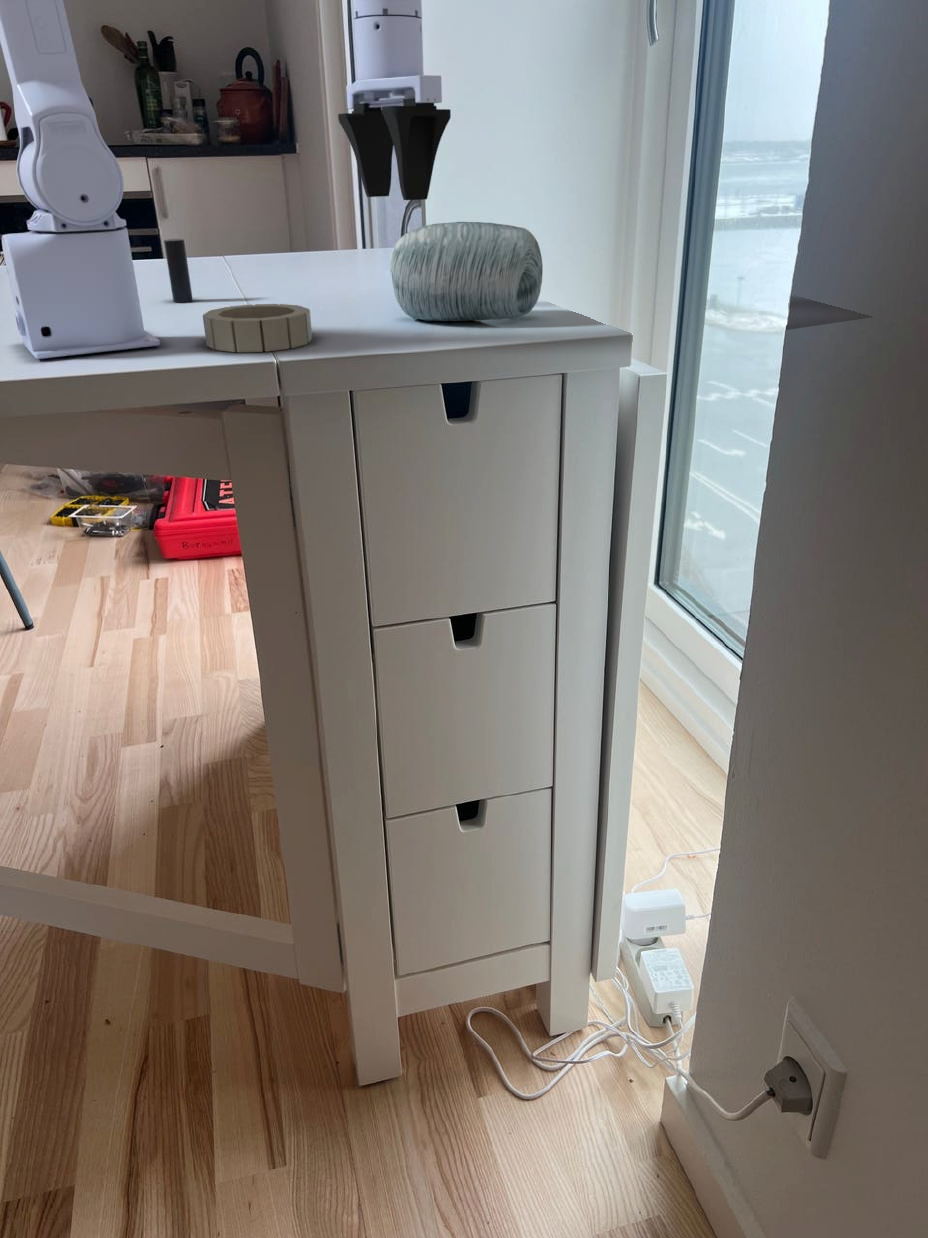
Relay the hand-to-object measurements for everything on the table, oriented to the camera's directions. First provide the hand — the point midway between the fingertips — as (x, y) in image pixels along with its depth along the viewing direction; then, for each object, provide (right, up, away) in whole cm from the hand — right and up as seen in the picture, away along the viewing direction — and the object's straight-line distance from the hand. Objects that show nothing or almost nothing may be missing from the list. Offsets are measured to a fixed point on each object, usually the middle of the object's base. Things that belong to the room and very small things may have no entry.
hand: (395, 198), depth 83 cm
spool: (+6, -11, +1) cm, 13 cm away
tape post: (-24, -5, +14) cm, 28 cm away
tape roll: (-11, -15, -7) cm, 20 cm away
